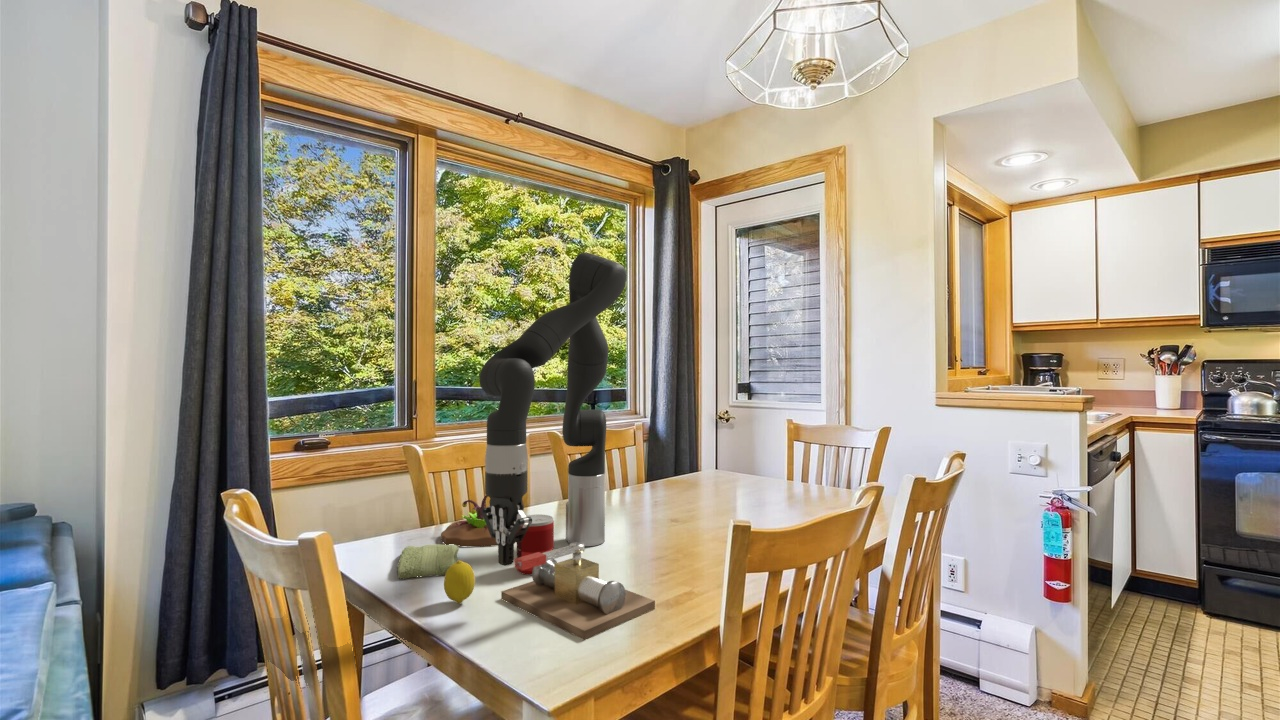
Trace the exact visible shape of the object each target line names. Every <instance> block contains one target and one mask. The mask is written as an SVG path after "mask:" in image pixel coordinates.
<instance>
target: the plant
mask: <svg viewBox="0 0 1280 720" xmlns="http://www.w3.org/2000/svg"><path fill="white" fill-rule="evenodd" d="M487 499H488V496H487V495H486V494H485V495H484V497H483V498H482V501H481V505H480V506H479V504H478V503H477V502H476V501H474V500H472V499H468V500H465V501H463V502H462V504H461V506H462V507H463V508H466V507H467V505H468V503H470V504H472V505H473V506H474V507H473V508H472V509H471V510H470V512H468V515H469V516H470V517H469V516H468V515H463V514H462V515H461V516H462V517H463V519H462V520H459V521H455V522H453V523H451V524H449V525H448V526H446V528H445V529H444V530H443V531H441V532H440V541H441V540H442V541H441V543H442V542H444V543H445V544H446V545H449V544H454V545H460V546H480V547H492V546H491V545H498V544H497V542H496V539H495V538H491V536H490V533H489V530H488V528H487V525H486V522H485V519H484V517H483V514H482V509H483V508H486V501H487ZM445 544H444V545H445ZM460 546H459V547H460Z"/></svg>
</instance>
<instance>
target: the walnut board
mask: <svg viewBox="0 0 1280 720" xmlns="http://www.w3.org/2000/svg"><path fill="white" fill-rule="evenodd" d="M500 592H501V595H500V596H501V597H500V599H501V600H502V599H503V600H502V601H504V600H505V601H504V602H506V601H507V602H506V603H508V604H510V605H513V606H514V607H515V608H516V607H517V608H518V607H519V608H518V609H520V608H521V610H522V609H523V610H522V611H524V610H525V611H524V612H526V611H527V612H526V613H528V612H529V614H530V613H531V615H532V614H533V615H532V616H534V615H535V617H536V616H537V618H539V619H541V620H543V621H545V622H547V623H548V624H550V625H552V626H555V627H556V628H559V629H561V630H563V631H566V632H567V633H569V634H571V635H573V636H575V637H577V638H580V639H581V640H584V641H586V640H589V639H590V638H592V637H596V636H597V635H599V634H601V633H604V632H606V631H608V630H610V629H613V628H615V627H618V626H619V625H622V624H624V623H627V622H629V621H631V620H633V619H635V618H638V617H640V616H642V615H645V614H647V613H649V612H651V611H653V610H655V609H656V601H655V599H652V598H649V597H646V596H643V595H641V594H638V593H636V592H632V591H630V590H628V589H625V592H626V597H625V602H624V605H623V607H622V608H621V609H619V610H617V611H615V612H612V613H610V614H604V613H602V612H601V611H600V609H599V607H597V606H595V605H592V604H590V603H588V602H585V601H584V602H582V603H579V604H577V605H575V604H573V603H570V602H568V601H566V600H563V599H561V598H559V597H556V596H555V589H554V588H552V587H550V586H547V585H542V586H539V585H537V584H535V583H534V581H533V580H532V581H529V582H526V583H522V584H521V585H517V586H514V587H511V588H508V589H504V590H501V591H500Z"/></svg>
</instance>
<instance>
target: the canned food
mask: <svg viewBox="0 0 1280 720" xmlns="http://www.w3.org/2000/svg"><path fill="white" fill-rule="evenodd" d="M526 517H531V518H532V523H531V525H530V527H529V528H528V530H527V532H526V534H525V536H524V537H523V539H522V541H520V542H516V558H519V557H523V556H526V555H530V554H533V553H537V552H540V553H544V552H548V551H551V550H555V548H554V542H555V541H554V540H555V538H554V537H555V536H554V535H555V531H554V530H555V528H554V527H555V523H554V522H555V521H554V517H553V516H552V515H549V514H527V515H526ZM532 571H533V567H532V568H529V569H526V570H520V569H517V572H519V573H520V574H522V573H523V575H527V574H532Z"/></svg>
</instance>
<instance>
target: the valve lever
mask: <svg viewBox="0 0 1280 720" xmlns="http://www.w3.org/2000/svg"><path fill="white" fill-rule="evenodd" d="M568 544H569V545H566V546H563V547H559V548H554V550H551V551H548V552H544V553H540V552H537V553H533V554H530V555H526V556H523V557H519V558H517V557H516V558H514V568H515V569H517V570H518V569H520V570H526V569H529V568H532V567H536V566H539V565H542V564H546V561H549V560H552V559H555V560H556V559H558V558H559V559H560V558H562V557H565V556H568V555H571V554H572V555H573V553H581V554H582V553H583V552H585V546H584V543H582V542H573V543H568Z"/></svg>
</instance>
